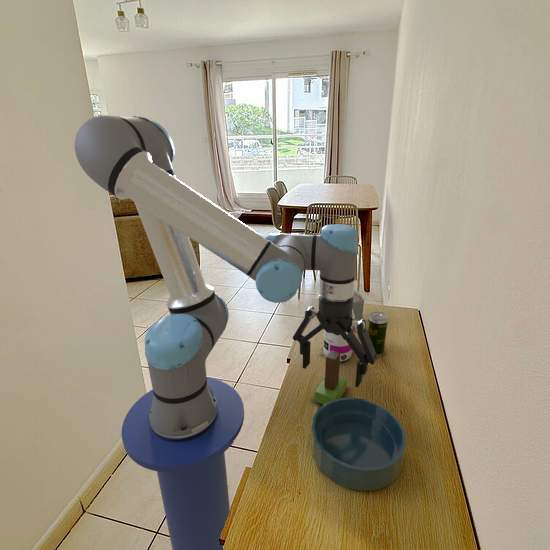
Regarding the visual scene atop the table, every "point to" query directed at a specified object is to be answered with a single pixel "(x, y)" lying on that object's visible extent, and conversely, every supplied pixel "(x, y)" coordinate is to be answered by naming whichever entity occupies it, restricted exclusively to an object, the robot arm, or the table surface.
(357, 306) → the coffee mug
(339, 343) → the supplement can
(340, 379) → the sponge brush
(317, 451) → the bowl
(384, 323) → the beer can
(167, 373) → the robot arm
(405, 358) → the table surface
